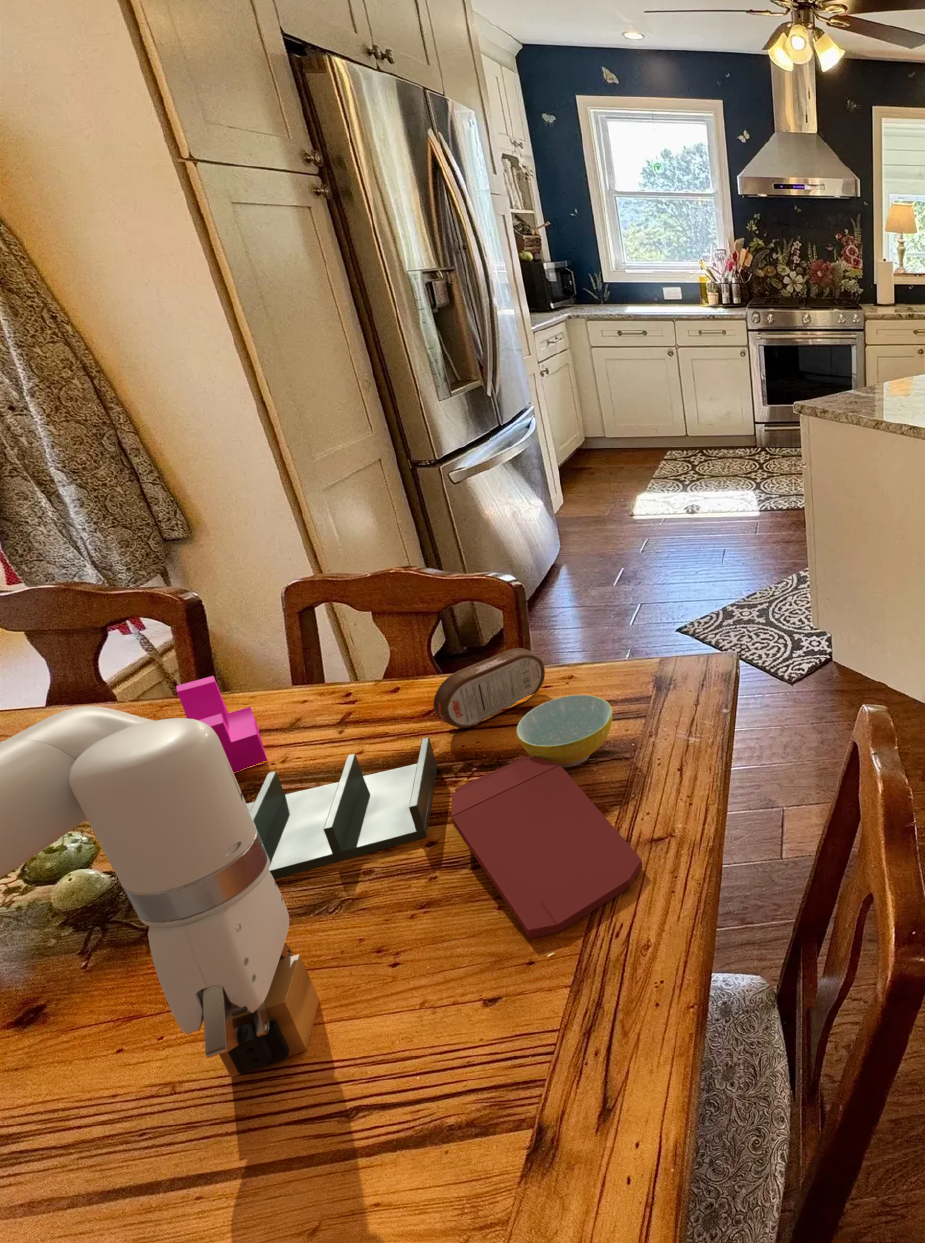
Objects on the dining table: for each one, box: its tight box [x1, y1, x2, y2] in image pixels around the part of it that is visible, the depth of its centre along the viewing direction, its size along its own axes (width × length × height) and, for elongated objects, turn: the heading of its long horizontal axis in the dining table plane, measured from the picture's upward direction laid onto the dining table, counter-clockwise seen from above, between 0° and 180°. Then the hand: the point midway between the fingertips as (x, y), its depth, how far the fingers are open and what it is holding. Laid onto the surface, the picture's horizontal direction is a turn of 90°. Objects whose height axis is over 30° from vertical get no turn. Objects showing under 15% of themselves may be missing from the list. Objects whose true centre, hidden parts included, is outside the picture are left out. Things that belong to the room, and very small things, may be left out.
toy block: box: [176, 675, 269, 775], centre depth 98 cm, size 15×6×8 cm, turn 45°
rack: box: [246, 737, 438, 880], centre depth 84 cm, size 24×14×5 cm, turn 117°
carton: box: [450, 756, 643, 939], centre depth 83 cm, size 12×5×25 cm
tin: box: [433, 647, 546, 729], centre depth 106 cm, size 15×3×8 cm, turn 148°
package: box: [218, 953, 320, 1078], centre depth 62 cm, size 5×5×6 cm
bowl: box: [516, 694, 613, 768], centre depth 97 cm, size 11×12×6 cm
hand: (274, 1031), depth 63 cm, fingers closed on package, 5 cm apart
